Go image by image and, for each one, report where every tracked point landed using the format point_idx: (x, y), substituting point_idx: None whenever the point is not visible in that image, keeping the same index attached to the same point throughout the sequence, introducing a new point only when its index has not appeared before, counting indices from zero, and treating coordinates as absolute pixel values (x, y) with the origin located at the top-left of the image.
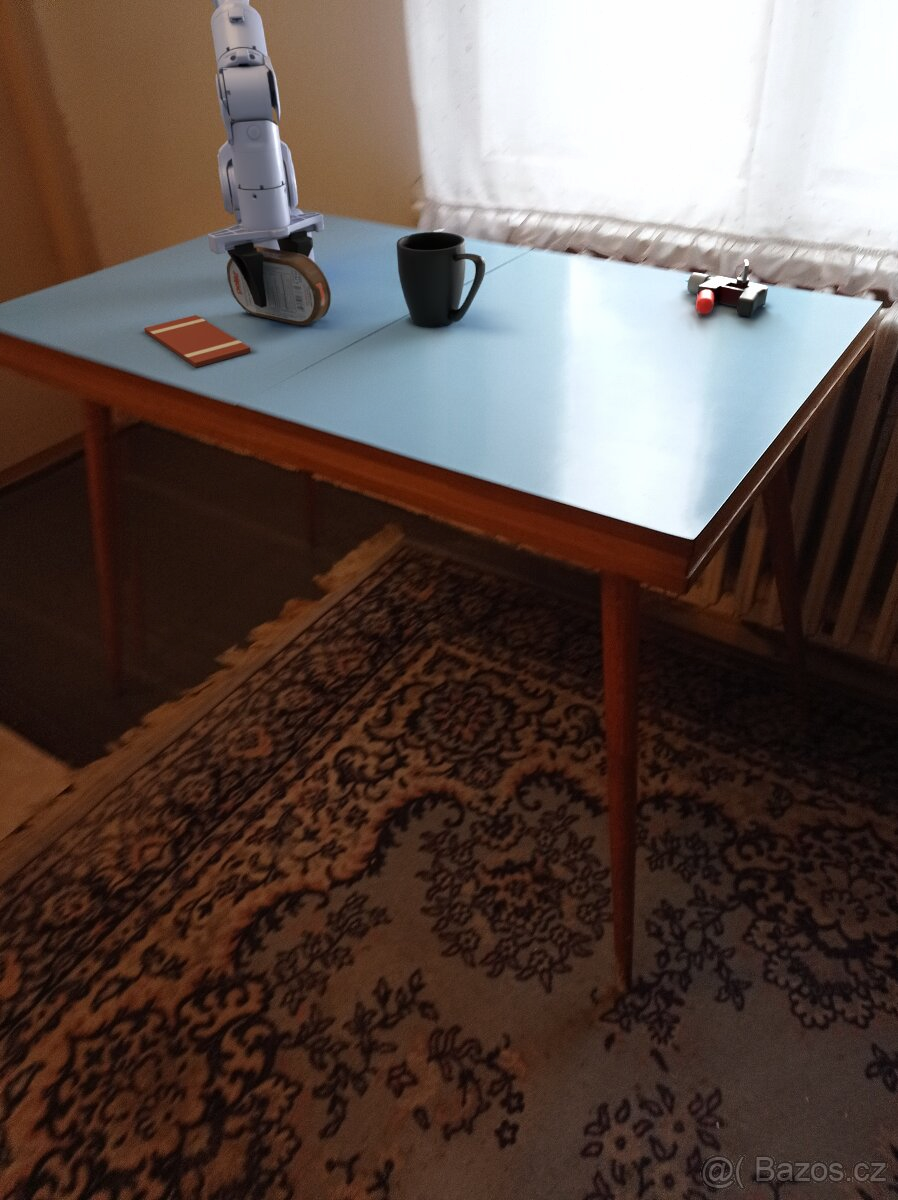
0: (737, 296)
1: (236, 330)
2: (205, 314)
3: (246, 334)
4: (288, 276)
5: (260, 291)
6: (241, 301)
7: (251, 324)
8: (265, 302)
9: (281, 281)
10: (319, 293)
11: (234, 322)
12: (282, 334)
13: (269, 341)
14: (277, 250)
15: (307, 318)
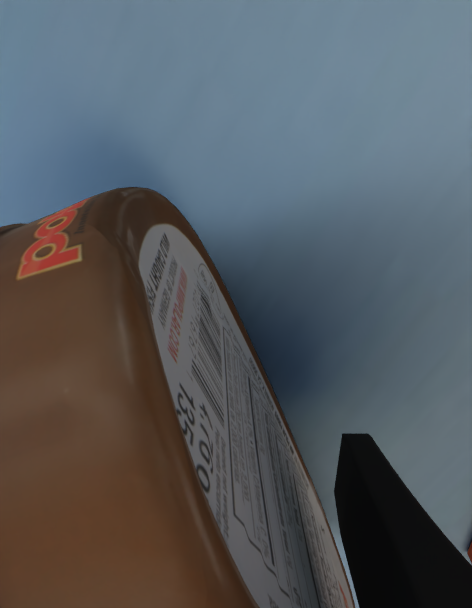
0: None
1: (452, 407)
2: None
3: (458, 347)
4: (242, 506)
5: (405, 500)
6: (335, 556)
7: (367, 423)
8: (356, 446)
9: (266, 513)
10: (86, 213)
11: (398, 472)
12: (347, 244)
13: (455, 201)
14: None
15: (196, 250)
